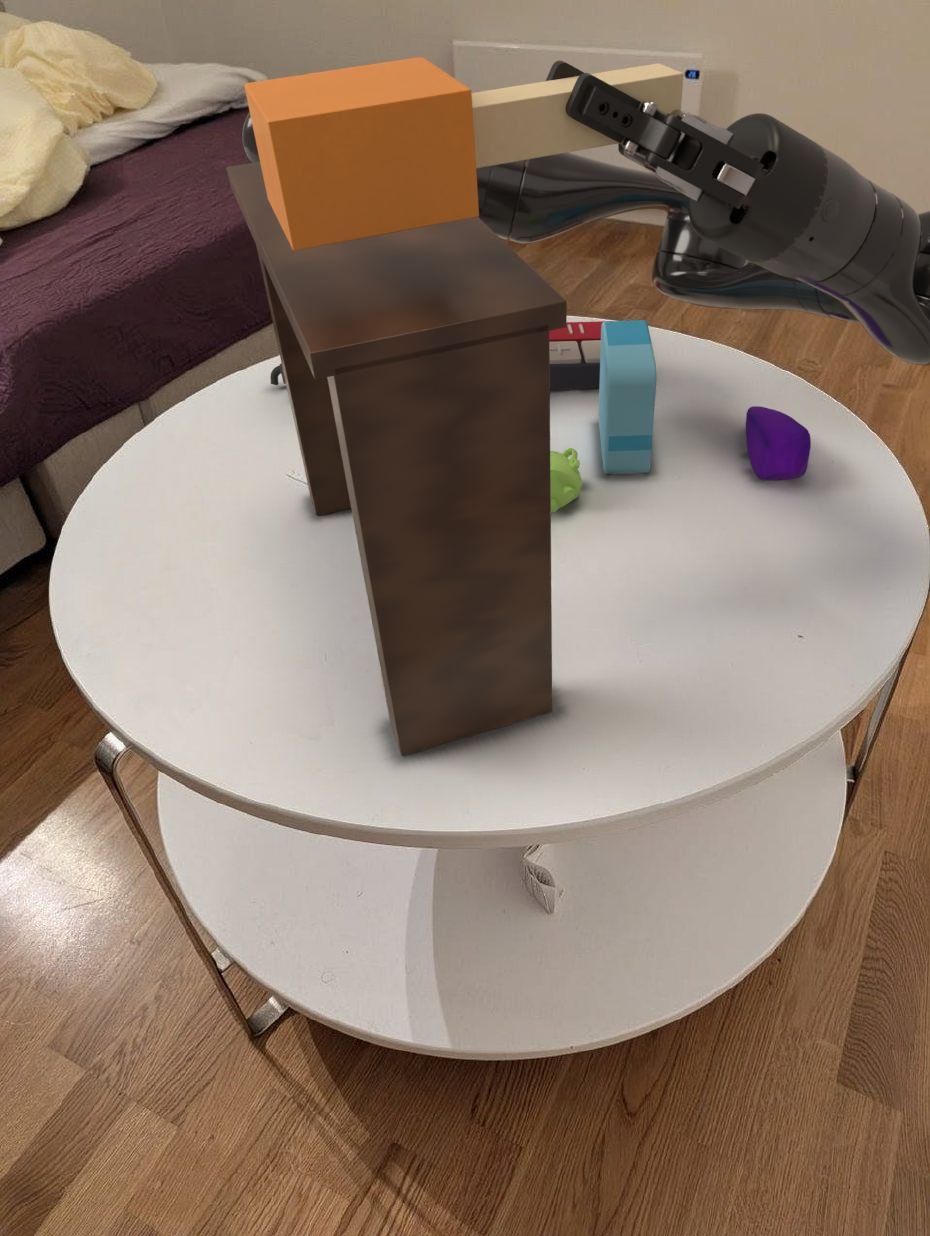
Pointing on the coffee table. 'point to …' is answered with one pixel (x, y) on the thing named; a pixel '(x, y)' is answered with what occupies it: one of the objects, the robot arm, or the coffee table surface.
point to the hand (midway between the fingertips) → (562, 86)
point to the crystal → (776, 444)
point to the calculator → (575, 355)
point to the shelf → (428, 452)
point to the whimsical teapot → (564, 478)
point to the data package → (626, 396)
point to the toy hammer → (410, 142)
